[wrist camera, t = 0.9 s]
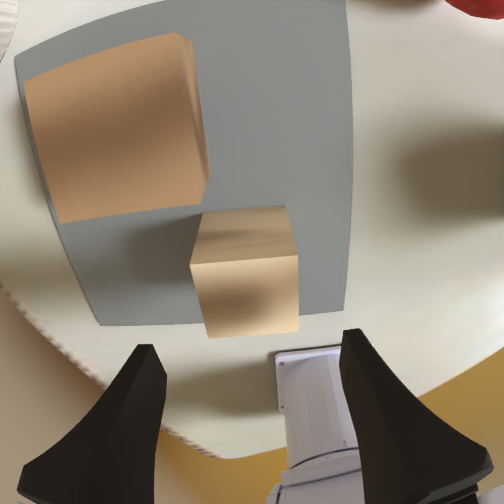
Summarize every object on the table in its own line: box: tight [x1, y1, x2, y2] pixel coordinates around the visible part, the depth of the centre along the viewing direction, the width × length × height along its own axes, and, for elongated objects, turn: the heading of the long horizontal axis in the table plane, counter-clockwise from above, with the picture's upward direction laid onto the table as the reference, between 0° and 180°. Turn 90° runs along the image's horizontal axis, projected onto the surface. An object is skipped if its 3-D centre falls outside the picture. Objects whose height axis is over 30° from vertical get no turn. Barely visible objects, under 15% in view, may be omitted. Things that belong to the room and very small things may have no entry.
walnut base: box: [23, 32, 210, 224], centre depth 13 cm, size 7×7×4 cm
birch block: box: [190, 205, 299, 338], centre depth 17 cm, size 4×4×5 cm
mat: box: [15, 0, 353, 326], centre depth 17 cm, size 20×18×1 cm
